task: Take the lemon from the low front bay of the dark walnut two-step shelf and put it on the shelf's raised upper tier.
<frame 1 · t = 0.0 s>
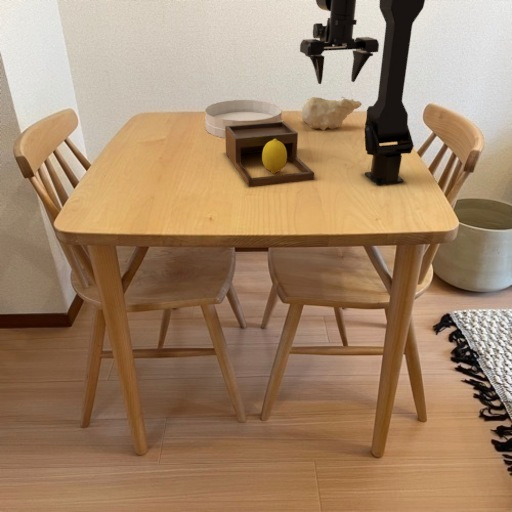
hand: (336, 82, 121), 15 cm above the table, tool pointing down, fingers open, 9 cm apart
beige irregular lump: (328, 127, 139), on the table
lemon: (273, 174, 109), resting in step shelf
step shelf: (266, 165, 113), on the table
dish: (243, 127, 138), on the table
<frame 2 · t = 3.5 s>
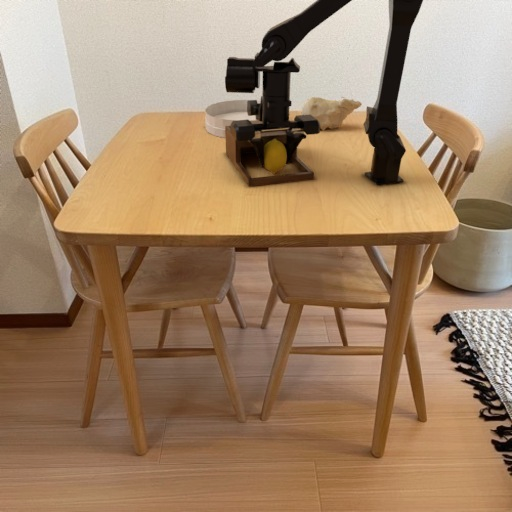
hand: (274, 165, 107), 2 cm above the table, tool pointing down, fingers closed on lemon, 5 cm apart
lemon: (273, 174, 109), resting in step shelf, touching gripper
everything else where it was.
when the fingers open (8 cm above the table, at t = 7.6 s): lemon stays where it is, resting on step shelf.
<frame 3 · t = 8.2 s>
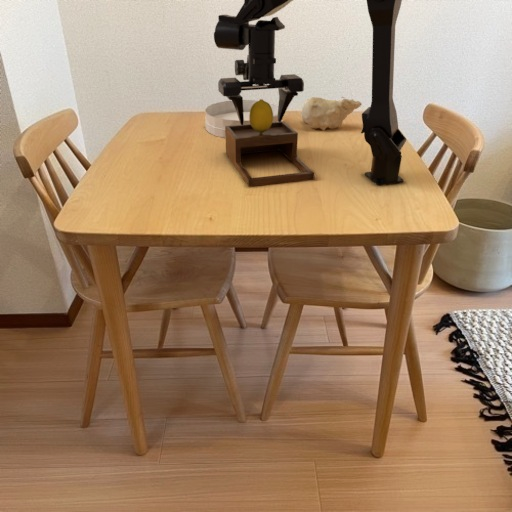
hand: (260, 123, 113), 9 cm above the table, tool pointing down, fingers open, 9 cm apart
lemon: (261, 134, 114), point 6 cm above the table, touching step shelf
everything else where it was.
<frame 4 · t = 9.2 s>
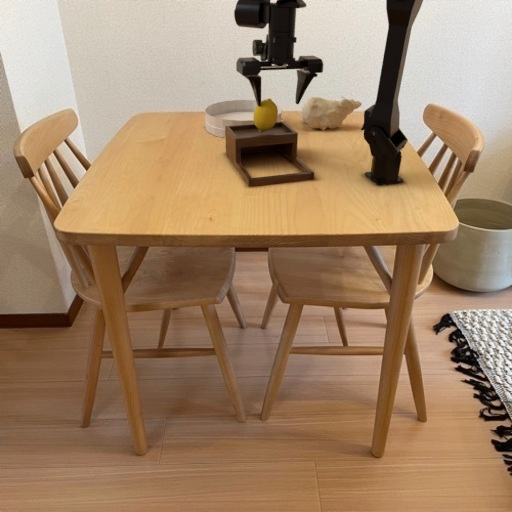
hand: (278, 104, 110), 13 cm above the table, tool pointing down, fingers open, 9 cm apart
lemon: (260, 133, 114), point 6 cm above the table, touching gripper, step shelf
everything else where it was.
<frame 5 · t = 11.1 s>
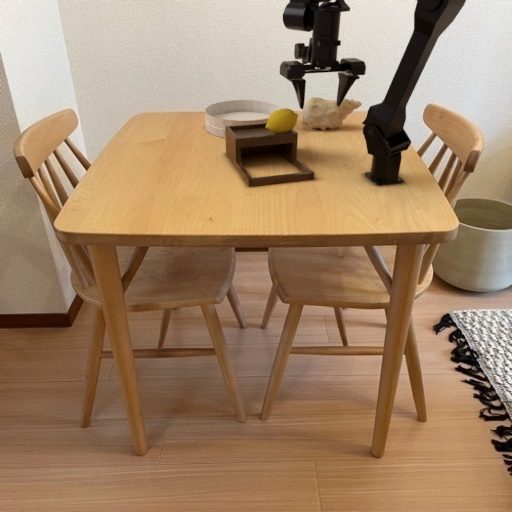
hand: (320, 107, 111), 12 cm above the table, tool pointing down, fingers open, 9 cm apart
lemon: (264, 128, 112), point 8 cm above the table, touching step shelf
everything else where it was.
at the end: lemon inside the target area on the step shelf (1.2 cm from its centre), point 7.6 cm above the step shelf's base; the gripper is holding nothing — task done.
